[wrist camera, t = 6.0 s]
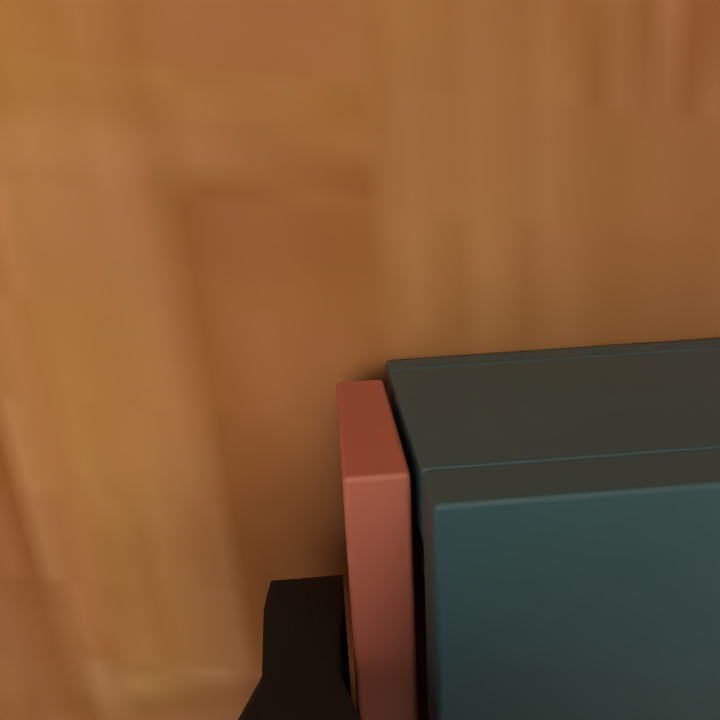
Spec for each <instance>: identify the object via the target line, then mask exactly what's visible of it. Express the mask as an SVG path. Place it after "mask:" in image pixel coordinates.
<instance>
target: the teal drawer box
mask: <svg viewBox="0 0 720 720" xmlns="http://www.w3.org/2000/svg"><path fill="white" fill-rule="evenodd" d="M385 366H386V390H387V396H388V399H389V403H390V406H391V410H392V413H393V417H394V420H395V424H396V427H397V431H398V434H399V437H400V441H401V444H402V448H403V451H404V455H405V458H406V462H407V465H408V469H409V472H410V476H411V500H412V504H413V507H414V511H415V515H416V518H417V522H418V526H419V529H420V533H421V537H422V540H423V542H424V574H425V614H426V654H427V694H428V720H720V338H716V339H701V340H687V341H672V342H657V343H642V344H627V345H613V346H598V347H583V348H568V349H554V350H539V351H524V352H509V353H494V354H480V355H465V356H450V357H435V358H421V359H406V360H391V361H387V362H386V365H385Z"/></svg>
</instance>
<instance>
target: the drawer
mask: <svg viewBox="0 0 720 720" xmlns="http://www.w3.org/2000/svg"><path fill="white" fill-rule="evenodd" d="M336 393H337V409H338V425H339V441H340V457H341V472H342V488H343V502H344V517H345V532H346V546H347V561H348V576H349V590H350V605H351V620H352V634H353V649H354V664H355V678H356V693H357V708H358V714H359V716H360V718H361V720H428V694H427V654H426V614H425V574H424V542H423V540H422V537H421V533H420V529H419V526H418V522H417V518H416V515H415V511H414V507H413V504H412V500H411V476H410V472H409V469H408V465H407V462H406V458H405V455H404V451H403V448H402V444H401V441H400V437H399V434H398V431H397V427H396V424H395V420H394V417H393V413H392V410H391V406H390V403H389V399H388V396H387V392H386V389H385V386H384V383H383V381H382V380H369V381H354V382H340V383H338V384H337V386H336Z"/></svg>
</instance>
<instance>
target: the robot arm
mask: <svg viewBox="0 0 720 720" xmlns="http://www.w3.org/2000/svg"><path fill="white" fill-rule="evenodd" d="M238 720H361V718H360V716H359V714H358V712H357V710H356V708H355V706H354V704H353V702H352V700H351V688H350V672H349V658H348V645H347V631H346V618H345V604H344V591H343V577H342V575H335V576H324V577H312V578H300V579H288V580H276V581H271V584H270V587H269V591H268V594H267V598H266V603H265V607H264V626H263V664H262V677H261V679H260V681H259V683H258V685H257V687H256V689H255V690H254V692H253V694H252V696H251V697H250V699H249V701H248V703H247V705H246V706H245V708H244V710H243V712H242V714H241V715H240V717H239V719H238Z"/></svg>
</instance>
